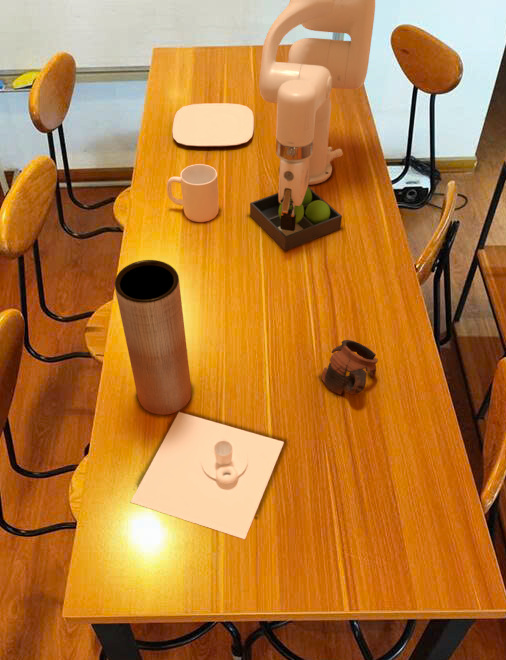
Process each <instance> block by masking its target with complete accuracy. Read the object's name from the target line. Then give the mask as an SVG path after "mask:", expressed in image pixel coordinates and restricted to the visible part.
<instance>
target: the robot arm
mask: <svg viewBox="0 0 506 660" xmlns="http://www.w3.org/2000/svg"><path fill="white" fill-rule="evenodd" d="M375 12H376V0H289V2H288V4H287V6H286V7H285V8H284V9H283V11H281V13H280V14H279V15H278V16H277V17H276V19H275V20H274V21H273V23H272V24H271V26H270V27H269V29H268V32H267V33H266V35H265V38H264V41H263V46H262V52H261V58H260V59H261V61H260V68H259V69H260V70H259V79H258V80H259V81H258V82H259V83H258V84H259V85H258V86H259V93H260V97H261V98H262V99H263V100H264V101H265V102H268V103H271V104H276V131H275V132H276V133H275V155H276V157H277V158H278V159H280V161H279V173H278V192H277V193H278V197H279V202H280V203H282V211H281V226H280V228H281V229H282V230H289V231H294V230H295V224H296V214H295V206H300V205H301V204H302V202H303V199H304V196H305V193H306V190H307V187H309V186H311V185H318V184H320V183H323V182H325V181H327V180H328V179H329V178H330V177H331V176H332V172H333V166H332V164H331V162H333V160H334V159H338V158H340V157H342V156H343V155H344V152H343V149H342V148H337V149H334V150H333V147H332V146H331V145H330V146H329V138H330V127H331V115H332V101H331V97H330V96H331V93H332V89H339V90H359V89H361V87H362V86H363V85H364V83H365V81H366V79H367V74H368V69H369V61H370V53H371V47H372V46H371V45H372V38H373V37H372V36H373V32H374V31H373V30H374V22H375V15H376V13H375ZM298 26H302V27H303V28H304V29H307V30H309V31H315V32H323V33H337V34H346V35H348V36H349V37H350V40H341V39H331V38H320V37H319V38H318V37H317V38H316V37H307V38H301V39H298V40H296V41H295V42H294V43H293V44H292V45H291V46H290V49H289V51H288V56H287V62H286V61H285V62H283V61H277V55H278V49H279V47H280V44H281V42H282V41H283V39H284V38H285V36H286V35H288V33H289V32H291V31H292V30H293V29H295V28H296V27H298ZM290 199H292V200H293V201H290ZM289 205H292V210H291V209H289Z"/></svg>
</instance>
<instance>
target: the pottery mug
mask: <svg viewBox="0 0 506 660" xmlns="http://www.w3.org/2000/svg"><path fill="white" fill-rule="evenodd" d="M331 354H332V355H331V357H330V358H329V364H328V367H324V368H323V370H322V375H321V381H322V382H323V383H324V385H325V386H326V387H327V388H328V389H329V390H330V391H332V392H333V393H336V394H337V395H339V396H340V395H342V393H343V392H344V391H345V392H346V393H347V394H350V395H359V394H361V393H362V392H363V390H364V389H365V387H366V384H367V372H369V375H370V376H371V377H372V378H374V377H375V376H376V372H377V365H376V364H378V362H379V359H378V358H377V357H376V353H375V352H374V351H373V350H371V349H370V348H369V347H367V346H366V345H363V344H361V343H360V342H358V341H355V340H351V339H346V340H345V339H344V340H342V341H341V344H340V345H338V346H336V347H335V348H333V349H332V350H331ZM364 369H365V370H364ZM347 372H348V373H349V374H348V375H347Z"/></svg>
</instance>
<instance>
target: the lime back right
mask: <svg viewBox="0 0 506 660" xmlns="http://www.w3.org/2000/svg"><path fill="white" fill-rule="evenodd" d="M305 215H306V218H307V219H308V220H309V221H310V222H311V223H312V224H313V225H316V224H318V223H321V222H323V221H326V220H328V219H329V217H330V209H329V206H328V205H327V204H326V203H325V202H323V201H320V200H316V201H313V202H311V203H310V204H309V205H308V206H307V208H306V212H305Z"/></svg>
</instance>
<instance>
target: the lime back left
mask: <svg viewBox="0 0 506 660" xmlns="http://www.w3.org/2000/svg"><path fill="white" fill-rule="evenodd" d="M308 187H309V186H308ZM308 187H307V190H306V193H305V196H304V199H303V202H302V205H303V206H304V205H306V204H309V203H311V200H312V193H311V191H310V189H309V188H308Z"/></svg>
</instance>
